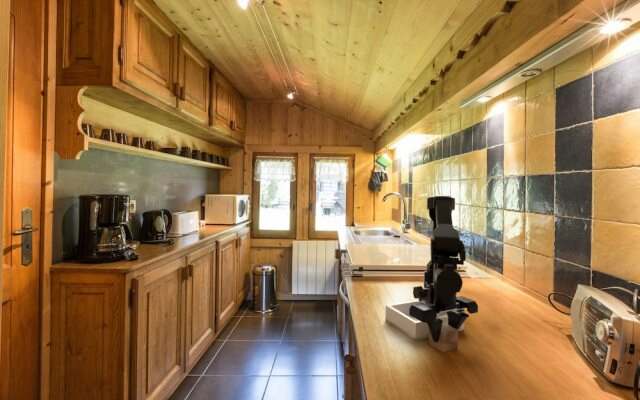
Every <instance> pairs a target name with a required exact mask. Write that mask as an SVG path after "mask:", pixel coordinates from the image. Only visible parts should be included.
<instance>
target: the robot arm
mask: <svg viewBox="0 0 640 400" xmlns="http://www.w3.org/2000/svg"><path fill="white" fill-rule="evenodd" d="M426 210H428V216H429V218H430V220H431V221H432V222H431V223H432V234H431V235H432V236H431V238H430V247H429V248H430V260H429V261H428V262H427V264H426V267H425V268H426V270H424V271H423V286H422V285H419V286H413V287H412V294H413V298H414V299H415V300H419V301H422V300H427V303H429V304H433V306H431V307H430V306H428V305H426V304H424V303H418V304H412V305H411V306H410V308H409V315H411V316H412V317H414V318H416V319H418V320H419V321H421V322H423V323H427V324H428V327H429V330H430V333H431V336H432V339H433V341H434V342H435V343H437V342H438V339H439V336H440V332H441V328H442V324H443V321H442V320H440V319H439V314H440V313H443V312H446V313H447V315H448V325H450V326H452V327H453V328H455V329H457V330H459V328H460V327H461V325H462V324H463V322H464V323H465V321H466V320H467V318H470V314H471V315H472V314H476V313H477V314H478V313H479V305H478V303H477V301H476V300H473V299H471V298H468V297H466V296H463V295H460V296H457V293H460V292H461V290H462V288H463V284H464V283H463V279H462V276H461V274H460V272H459V270H458V266H459V265H460V266H464V265H465V262H466V261H467V260H466V259H467V257H466V247H465V244H464V243H463V242H464V241H463V240H462V239H460V233H459V231H458V230H457V229H456V228H455V227H454V225H453V216H452V214H453V213H452V212H453V211H455V210H456V198H455V197H452V196H450V195H448V194H447V195H445V194H444V195H441V194H436V195H430V197H427V198H426ZM465 309H466V311H467V312H468V313H466V311H465Z"/></svg>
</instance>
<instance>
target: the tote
mask: <svg viewBox="0 0 640 400" xmlns="http://www.w3.org/2000/svg"><path fill="white" fill-rule="evenodd" d="M418 303H424V304H426V303H425V301H424V300H422V301H419V299H415V300H411V301H409V300H408V301H404V302H403V301H402V302H397V303H396V302H395V303H391V304H386V305H385V319H384V321H385V322H386V323H388V324H389V325H391V326H392V327H394V328H395V329H397V330H398V331H400V332H401V333H403V334H404V335H405V336H407V337H409V338H410V339H411V340H413V341H414V342H418V341H421V340H426V339H429V327H428V324H427V323H423V322H421V321H419V320H418V319H416V318H414V317H412V316H411V315H409V308H410V306H411V305H412V304H418ZM439 319H440V320H442V321H443V322H444V323H446V324H448V315H447V313H446V312H443V313H440V314H439ZM464 330H465V321H464V322H463V324H462V325H461V327H460V328H459V330H458V332H462V331H464Z"/></svg>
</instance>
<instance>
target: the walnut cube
mask: <svg viewBox="0 0 640 400" xmlns="http://www.w3.org/2000/svg"><path fill="white" fill-rule="evenodd" d="M458 341H459V331H458V330H457V329H455V328H453V327H452V326H450V325H448V324H446V323H444V322H443V324H442V328H441V332H440V336H439V339H438V342H437V343H435V342H434V341H433V339H432V336H431V333H430V330H429V338H428V344H429V345H430V346H432V347H433V348H435V349H436V350H439V351H440V352H441V353H446V352H449V351H453V350H454V351H455V350H457V349H458V346H459V345H458V343H459V342H458Z"/></svg>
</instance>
